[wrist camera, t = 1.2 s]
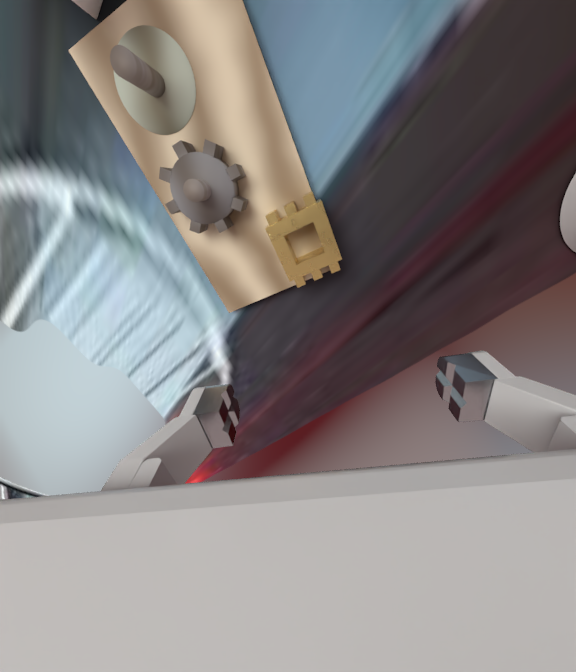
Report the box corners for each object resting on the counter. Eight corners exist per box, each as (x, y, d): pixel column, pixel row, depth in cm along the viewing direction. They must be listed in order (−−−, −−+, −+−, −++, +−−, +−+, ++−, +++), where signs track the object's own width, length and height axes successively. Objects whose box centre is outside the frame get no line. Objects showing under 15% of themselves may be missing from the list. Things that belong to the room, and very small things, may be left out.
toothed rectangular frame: (316, 188, 27) (317, 189, 24) (341, 260, 31) (345, 268, 28) (264, 215, 28) (260, 218, 26) (294, 281, 32) (293, 289, 29)
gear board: (220, -59, 20) (189, -151, 15) (337, 263, 32) (344, 280, 27) (80, 57, 24) (13, 18, 18) (231, 308, 36) (219, 331, 30)
